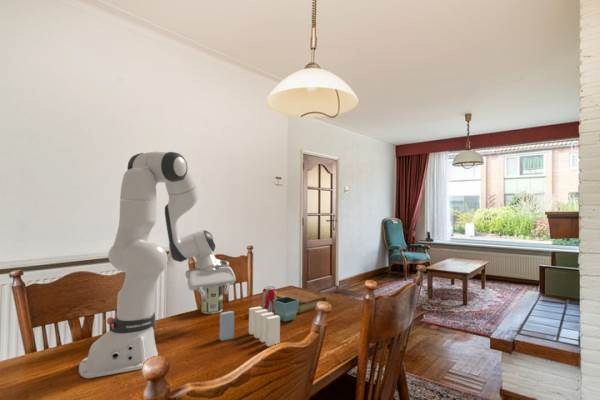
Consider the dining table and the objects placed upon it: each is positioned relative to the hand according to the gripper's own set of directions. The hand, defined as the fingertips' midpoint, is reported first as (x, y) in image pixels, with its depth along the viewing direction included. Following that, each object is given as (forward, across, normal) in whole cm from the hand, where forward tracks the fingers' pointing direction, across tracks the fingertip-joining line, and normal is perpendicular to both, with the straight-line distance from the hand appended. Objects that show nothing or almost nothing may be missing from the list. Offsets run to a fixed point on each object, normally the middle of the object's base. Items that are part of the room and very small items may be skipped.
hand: (216, 294), depth 135 cm
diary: (+4, +49, +17) cm, 52 cm away
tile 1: (+19, +12, +2) cm, 22 cm away
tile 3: (+25, +12, -5) cm, 28 cm away
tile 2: (+22, +12, -2) cm, 25 cm away
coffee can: (-7, +8, +28) cm, 30 cm away
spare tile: (+18, 0, +2) cm, 18 cm away
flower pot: (+15, +31, +6) cm, 35 cm away
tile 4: (+28, +12, -8) cm, 32 cm away
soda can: (+6, +30, +15) cm, 34 cm away
